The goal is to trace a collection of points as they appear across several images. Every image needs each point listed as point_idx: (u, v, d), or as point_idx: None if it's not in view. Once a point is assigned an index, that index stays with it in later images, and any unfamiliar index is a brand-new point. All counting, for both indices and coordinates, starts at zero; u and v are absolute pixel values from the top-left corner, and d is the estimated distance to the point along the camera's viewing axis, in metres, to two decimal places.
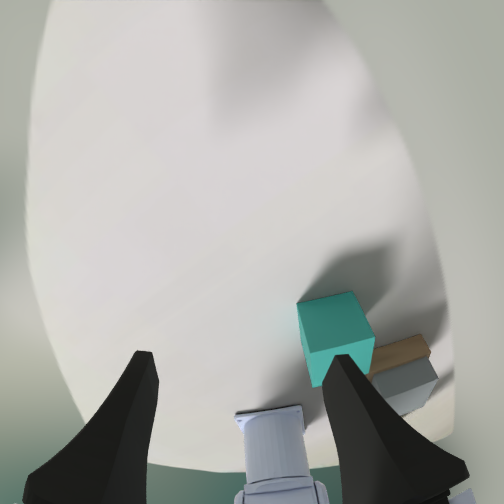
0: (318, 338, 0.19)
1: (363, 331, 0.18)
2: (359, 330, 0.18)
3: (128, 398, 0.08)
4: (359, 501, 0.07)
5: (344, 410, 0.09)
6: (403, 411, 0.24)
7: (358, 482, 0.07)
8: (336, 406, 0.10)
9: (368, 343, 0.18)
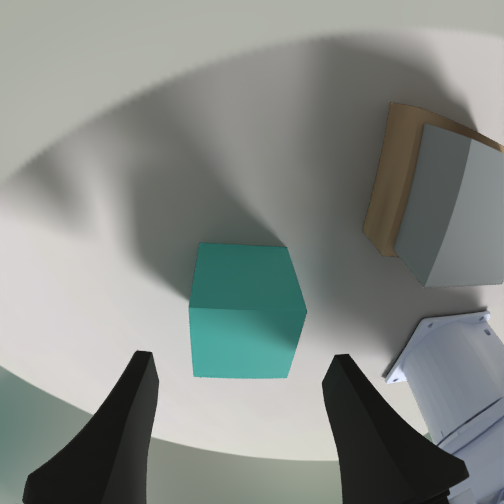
0: None
1: None
2: None
3: (128, 398, 0.08)
4: (359, 501, 0.07)
5: (344, 410, 0.09)
6: None
7: (358, 482, 0.07)
8: (336, 406, 0.10)
9: (202, 316, 0.11)
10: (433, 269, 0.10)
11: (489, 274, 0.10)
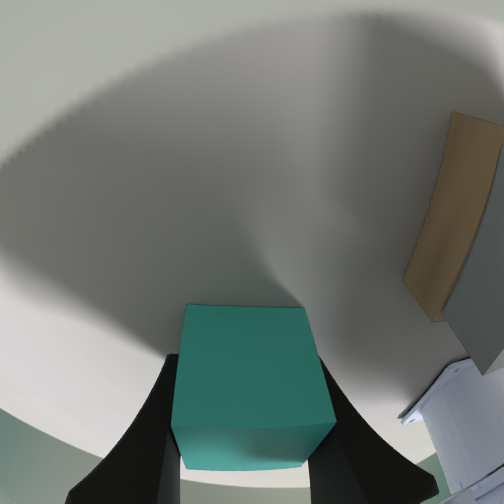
0: None
1: None
2: None
3: (167, 403, 0.08)
4: None
5: None
6: None
7: (323, 489, 0.07)
8: None
9: (192, 433, 0.07)
10: (499, 356, 0.06)
11: None
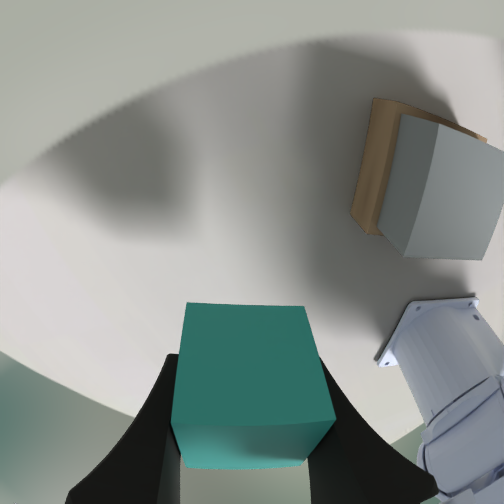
0: None
1: None
2: None
3: (167, 403, 0.08)
4: None
5: None
6: (492, 205, 0.11)
7: (323, 489, 0.07)
8: None
9: (192, 430, 0.07)
10: (410, 240, 0.11)
11: (467, 249, 0.12)
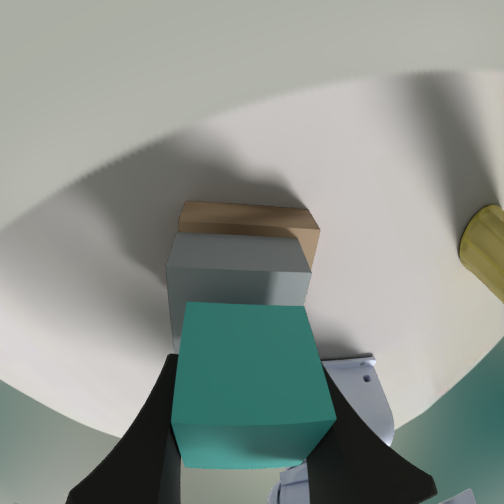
0: None
1: None
2: None
3: (168, 403, 0.08)
4: None
5: None
6: None
7: (322, 490, 0.07)
8: None
9: (192, 430, 0.07)
10: (176, 349, 0.14)
11: None
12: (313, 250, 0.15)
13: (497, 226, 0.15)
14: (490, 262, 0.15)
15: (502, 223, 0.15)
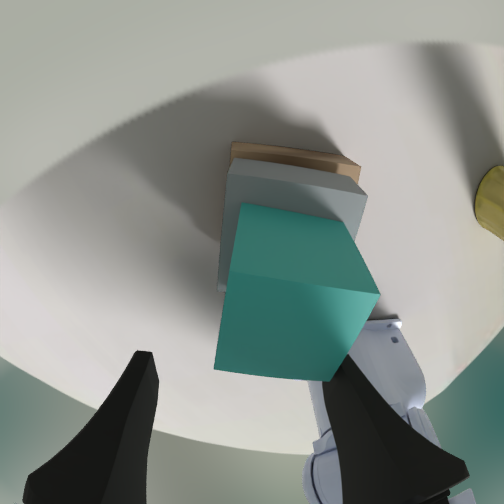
0: None
1: None
2: None
3: (128, 398, 0.08)
4: (359, 501, 0.07)
5: (344, 410, 0.09)
6: None
7: (358, 482, 0.07)
8: (336, 406, 0.10)
9: (246, 287, 0.08)
10: (219, 277, 0.14)
11: None
12: None
13: None
14: None
15: None
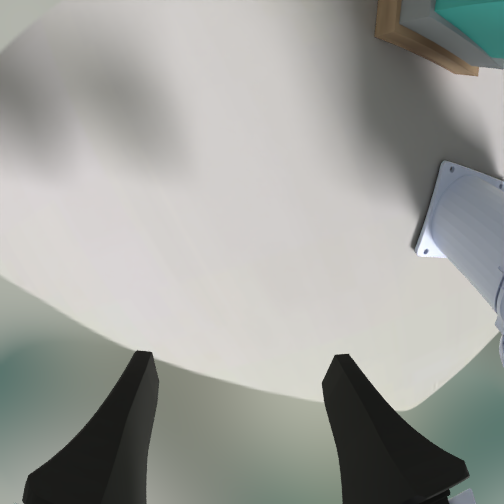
0: None
1: None
2: None
3: (128, 398, 0.08)
4: (359, 501, 0.07)
5: (344, 410, 0.09)
6: None
7: (358, 482, 0.07)
8: (336, 406, 0.10)
9: None
10: (432, 3, 0.07)
11: None
12: None
13: None
14: None
15: None
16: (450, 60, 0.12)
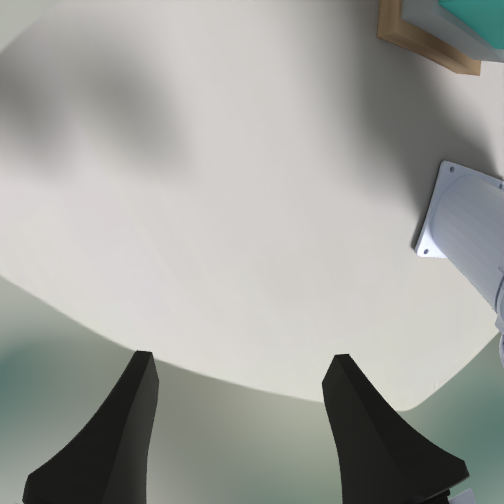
0: None
1: None
2: None
3: (128, 398, 0.08)
4: (359, 501, 0.07)
5: (344, 410, 0.09)
6: None
7: (358, 482, 0.07)
8: (336, 406, 0.10)
9: None
10: None
11: None
12: None
13: None
14: None
15: None
16: (452, 60, 0.11)
